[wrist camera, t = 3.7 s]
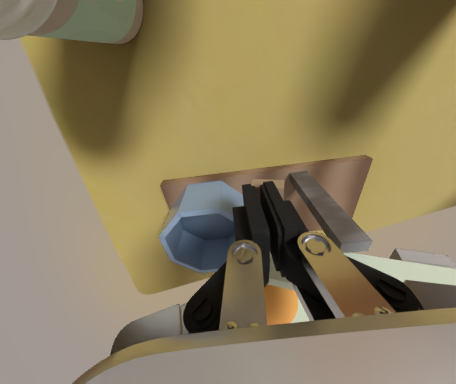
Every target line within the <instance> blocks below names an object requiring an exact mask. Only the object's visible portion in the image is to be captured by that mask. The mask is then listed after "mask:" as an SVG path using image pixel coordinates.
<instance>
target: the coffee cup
mask: <svg viewBox="0 0 456 384" xmlns="http://www.w3.org/2000/svg"><path fill="white" fill-rule="evenodd" d="M142 19H143V0H0V40H10V39H16V38H20V37H23V36H26V35H30V36H40V37H50V38H60V39H69V40H79V41H89V42H99V43H110V44H123V43H126V42H128V41H130V40H131V39H133V38H134V37H135V36H136V34H137V33H138V31H139V29H140V27H141V23H142Z"/></svg>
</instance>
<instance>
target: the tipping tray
mask: <svg viewBox="0 0 456 384" xmlns="http://www.w3.org/2000/svg"><path fill="white" fill-rule="evenodd" d="M266 181H273V182H274V184H275V186H276V187H277V189H278V191H279V193H280V195H281V197H282V199H284V181H285V180H269V179H253V180H252V183H251V186H255V188H256V191H257V194H258V197H259V200H260V185H262V184H263V182H266ZM260 203H261V201H260ZM343 254H344V255H346V256H348V257H350V258H352V259H355V260H357V261H359V262H361V263H364V264H366V265H368V266H370V267H372V268H375V269H377V270H379V271H381V272H384V273H386V274H388V275H390V276H392V277H394V278H396V279H398V280H400V281H401V282H404V281H405V280H413V281H421V282H430V283H438V284H447V285H455V286H456V265H455V264H454V262H453V261H452V260H451V259H450V258H449V256H447V255H440V254H434V253H426V252H418V251H411V250H404V249H397V248H396V249H395V250H394V251H393V253H392V255H391V257H390V258H389V259H387V258H381V257H374V256H368V255H361V254H355V253H343ZM268 285H273V286H277V287H281V288H285V289H289V290H294V288H293V285H292V283H291V282H290V281H288V280H286V277H283V278H282V277H281V274H280V271H276V269H275V266H274V263H273V259H272V256H271V252H270V272H269V282H268ZM294 291H295V290H294ZM306 321H309V319H308V316H307V314H306V312H305V310H304V308H303V306H302V304H301V302H300V300H299V298H298V310H297V313H296V316H295V318H294V319H293V320H292V322H291V323H296V322H306Z"/></svg>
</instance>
